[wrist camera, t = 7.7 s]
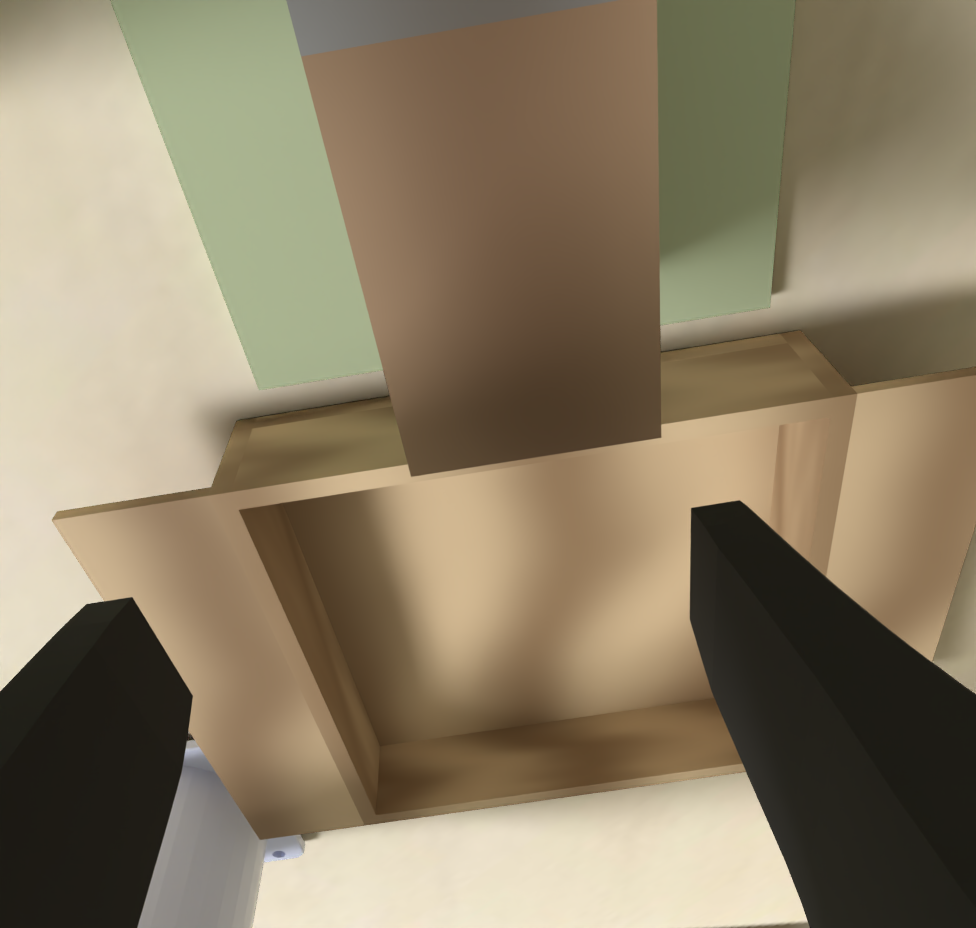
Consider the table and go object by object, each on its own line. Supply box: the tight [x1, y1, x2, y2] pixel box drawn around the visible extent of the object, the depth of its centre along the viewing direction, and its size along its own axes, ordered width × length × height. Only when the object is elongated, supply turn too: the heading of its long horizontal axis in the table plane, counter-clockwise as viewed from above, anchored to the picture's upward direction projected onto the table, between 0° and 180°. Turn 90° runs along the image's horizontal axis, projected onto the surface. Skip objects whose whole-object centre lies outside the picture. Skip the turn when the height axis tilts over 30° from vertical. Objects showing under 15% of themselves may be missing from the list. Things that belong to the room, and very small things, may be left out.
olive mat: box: [110, 0, 796, 390], centre depth 15 cm, size 12×10×1 cm
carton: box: [52, 330, 976, 840], centre depth 21 cm, size 21×14×3 cm, turn 98°
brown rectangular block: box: [286, 0, 661, 477], centre depth 12 cm, size 4×8×6 cm, turn 8°
